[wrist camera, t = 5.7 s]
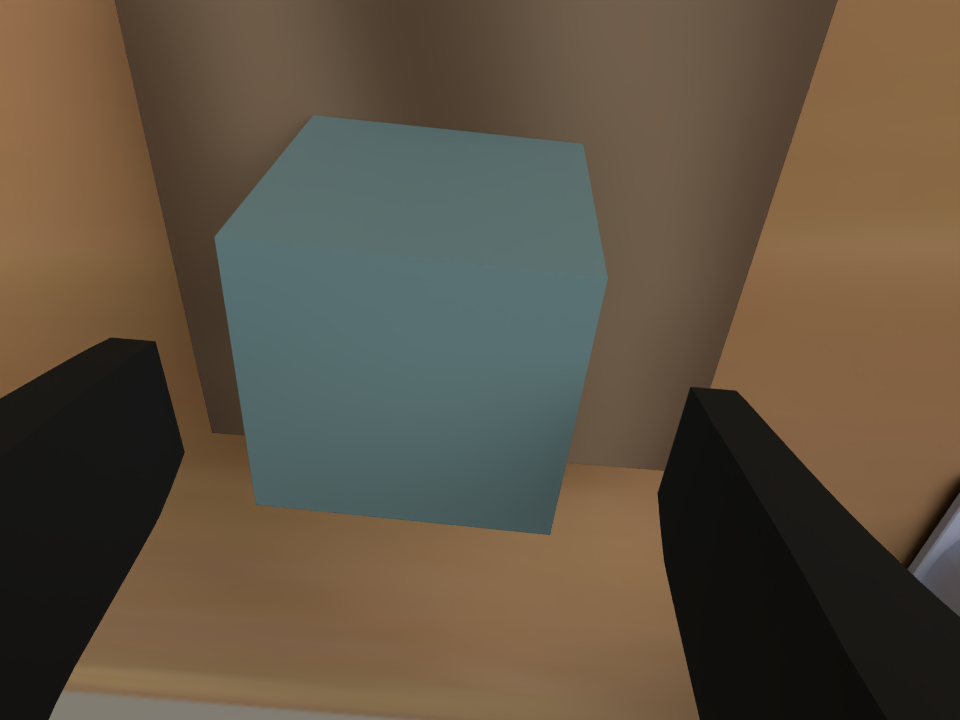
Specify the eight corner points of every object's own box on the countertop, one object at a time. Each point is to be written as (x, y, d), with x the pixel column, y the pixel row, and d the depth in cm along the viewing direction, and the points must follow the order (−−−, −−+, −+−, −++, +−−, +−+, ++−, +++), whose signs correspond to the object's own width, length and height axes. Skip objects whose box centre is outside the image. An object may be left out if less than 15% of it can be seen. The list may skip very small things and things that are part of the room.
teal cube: (582, 143, 13) (607, 277, 9) (544, 360, 16) (550, 535, 12) (313, 115, 13) (213, 236, 9) (325, 337, 16) (256, 504, 12)
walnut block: (787, -104, 14) (866, -90, 11) (658, 376, 21) (681, 472, 18) (185, -150, 14) (80, -151, 11) (260, 343, 21) (212, 432, 18)
